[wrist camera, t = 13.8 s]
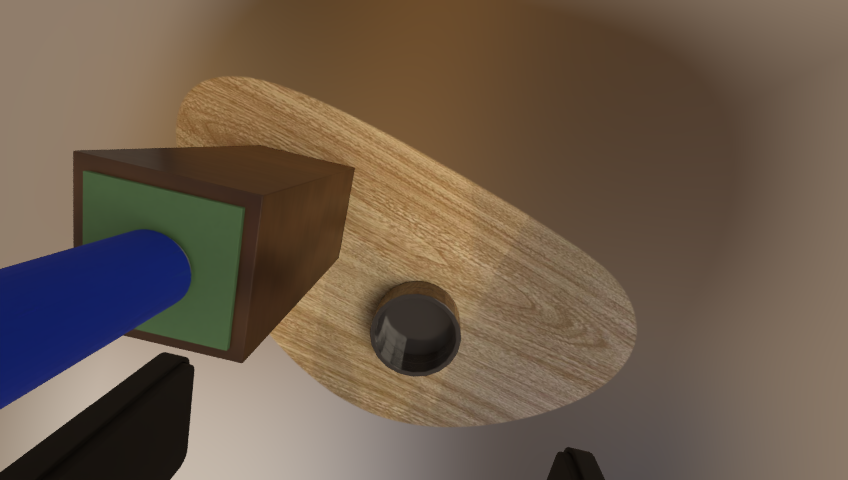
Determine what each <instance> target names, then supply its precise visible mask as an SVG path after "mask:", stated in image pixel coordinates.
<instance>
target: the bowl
mask: <svg viewBox="0 0 848 480" xmlns="http://www.w3.org/2000/svg"><path fill="white" fill-rule="evenodd" d="M370 337H371V344H372V347H373V349H374V351H375V353H376V355H377V357H378V358H379V359H380V360H381V361H382V362H383V363H384V364H385V365H386V366H387V367H389V368H390V369H392V370H394V371H396V372H397V373H400V374H404V375H408V376H427V375H430V374H433V373H436V372H439V371H440V370H442V369H443V368H445V367H446V366H447V365H449V364H450V363H451V361H452V360H453V358H454V357H455V356H456V354H457V352H458V349H459V346H460V342H461V333H460V319H459V312H458V309H457V306H456V304H455V302H454V301H453V299H452V298H451V297H450V296H449V295H448V293H447V292H445V291H444V290H443V289H441V288H440V287H438V286H436V285H434V284H431V283H427V282H422V281H412V282H406V283H403V284H400V285H398V286H396V287H394V288H393V289H391V290H390V291H389V292H388V293H387V294H386V295H385V296H384V297H383V299H382V300H381V302H380V304H379V305H378V308H377V310H376V313H375V315H374V318H373V320H372V325H371V329H370Z"/></svg>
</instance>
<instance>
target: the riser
mask: <svg viewBox="0 0 848 480" xmlns="http://www.w3.org/2000/svg"><path fill="white" fill-rule="evenodd" d="M73 160H74V161H73V166H74V167H73V184H74V185H73V187H74V188H73V196H74V197H73V198H74V199H73V207H74V210H73V211H74V212H73V213H74V214H73V218H74V219H73V220H74V221H73V222H74V248H75V247H78V246H82V245H83V171H88V170H89V171H93V172H97V173H101V174H106V175H110V176H114V177H118V178H122V179H127V180H131V181H135V182H139V183H144V184H148V185H152V186H156V187H160V188H165V189H169V190H173V191H177V192H182V193H186V194H190V195H194V196H198V197H203V198H207V199H211V200H215V201H220V202H224V203H228V204H232V205H236V206H241V207H245V215H244V224H243V233H242V242H241V251H240V260H239V268H238V277H237V286H236V295H235V304H234V313H233V321H232V330H231V339H230V348H229V349H228V350H227V351H225V350H221V349H217V348H213V347H208V346H204V345H200V344H196V343H191V342H187V341H183V340H179V339H174V338H170V337H166V336H162V335H157V334H153V333H149V332H145V331H140V330H136V329H133V330H131V331H129V332H128V333H126V334H124V336H128V337H133V338H137V339H141V340H146V341H149V342H154V343H158V344H163V345H166V346H171V347H175V348H179V349H183V350H188V351H193V352H197V353H200V354H205V355H209V356H213V357H217V358H222V359H226V360H230V361H234V362H239V363H243V362H244V361H245V360H246V359H247V358H248V356H250V354H251V353H252V352H253V351H254V350H255V349H256V348H257V347H258V346H259V345H260V343H261V342H262V341H263V340H264V339H265V338H266V337H267V336H268V335H269V334H270V333H271V331H272V330H273V329H274V328H275V327H276V326H277V325H278V324H279V323H280V322H281V320H282V319H283V318H284V317H285V316H286V315H287V314H288V313H289V312H290V311H291V310H292V308H293V307H294V306H295V305H296V304H297V303H298V302H299V301H300V300H301V299H302V298H303V296H304V295H305V294H306V293H307V292H308V291H309V290H310V289H311V288H312V287H313V285H314V284H315V283H316V282H317V281H318V280H319V279H320V278H321V277H322V276H323V275H324V273H325V272H326V271H327V270H328V269H329V268H330V267H331V266H332V265H333V264H334V262H335V261H336V260H337V259H338V258H339V253H340V247H341V242H342V236H343V231H344V225H345V220H346V214H347V209H348V203H349V198H350V192H351V187H352V181H353V176H354V170H355V168H353V167H349V166H345V165H341V164H337V163H332V162H328V161H324V160H320V159H316V158H311V157H307V156H303V155H299V154H294V153H290V152H286V151H282V150H278V149H273V148H269V147H265V146H261V145H258V146H222V147H187V148H152V149H120V150H119V149H117V150H80V151H74V152H73Z"/></svg>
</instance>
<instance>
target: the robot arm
mask: <svg viewBox="0 0 848 480" xmlns="http://www.w3.org/2000/svg"><path fill="white" fill-rule="evenodd" d="M193 379H194V366H193V365H190V364H189V359H188V358H187V357H183V356H179V355H174V354H170V353H166V352H164V353H161V354H159V355H158V356H156V357H155V358H154V359H152V360H151V361H150V362H148V363H147V364H145V365H144V366H143V367H142V368H140V369H139V370H137V371H136V372H135V373H133V374H132V375H131V376H129V377H128V378H127V379H126V380H124V381H123V382H121V383H120V384H119V385H117V386H116V387H115V388H113V389H112V390H111V391H109V392H108V393H107V394H105V395H104V396H103V397H101V398H100V399H99V400H97V401H96V402H95V403H93V404H92V405H90V406H89V407H87V408H86V409H85V410H84V411H82V412H81V413H79V414H78V415H77V416H75V417H74V418H73V419H71V420H70V421H69V422H67V423H66V424H65V425H63V426H62V427H61V428H59V429H58V430H56V431H55V432H54V433H52V434H51V435H50V436H48V437H47V438H46V439H44V440H43V441H42V442H40V443H39V444H38V445H36V446H35V447H34V448H33V449H31V450H30V451H28V452H27V453H26V454H24V455H23V456H22V457H20V458H19V459H18V460H16V461H15V462H14V463H12V464H11V465H10V466H8V467H7V468H5V469H4V470H3V471H2V472H0V480H170V479H171V478H172V477H173V475H174V474H175V473H176V472H177V471H178V469H179V468H180V467H181V465H182V463H183V462H184V459H185V457H186V453H187V448H188V436H189V425H190V414H191V402H192V391H193ZM547 480H605V479H604V477H603V475H602V472H601V470H600V468H599V466H598V464H597V462H596V460H595V457H594V456H593V454H592V453H590V452H587V451H582V450H579V449H574V448H570V447H567V448H566V449H565V450H564V452H558V453H557V455H556V457H555V460H554V462H553V465H552V468H551V470H550V473H549V475H548V478H547Z"/></svg>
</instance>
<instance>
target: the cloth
mask: <svg viewBox="0 0 848 480" xmlns="http://www.w3.org/2000/svg"><path fill="white" fill-rule="evenodd" d="M244 215H245V207H241V206H236V205H232V204H228V203H224V202H220V201H215V200H211V199H207V198H203V197H198V196H194V195H190V194H186V193H182V192H177V191H173V190H169V189H165V188H160V187H156V186H152V185H148V184H144V183H139V182H135V181H131V180H127V179H122V178H118V177H114V176H110V175H106V174H101V173H97V172H93V171H89V170H88V171H83V245H85V244H89V243H92V242H96V241H99V240H102V239H106V238H109V237H113V236H116V235H120V234H123V233H127V232H130V231H134V230H140V229H148V230H153V231H157V232H159V233H162V234H164V235H166V236H168V237H169V238H171V239H172V240H174V241H175V242H176V243H177V244H178V245H179V246H180V247H181V248H182V249H183V250H184V252H185V253H186V255H187V257H188V259H189V262H190V265H191V282H190V287H189V289H188V291H187V293H186V294H185V296H184V297H183V298H182V299H181V300H180V301H178V302H177V303H176V304H174V305H172V306H171V307H169V308H167V309H166V310H164V311H162V312H161V313H159V314H157V315H156V316H154V317H152V318H151V319H149V320H147V321H146V322H144V323H142V324H141V325H139V326H137V327H136V328H134V329H136V330H140V331H145V332H149V333H153V334H157V335H162V336H166V337H170V338H174V339H179V340H183V341H187V342H191V343H196V344H200V345H204V346H208V347H213V348H217V349H221V350H225V351H227V350H228V349H229V348H230V339H231V330H232V321H233V313H234V304H235V295H236V286H237V277H238V268H239V260H240V251H241V242H242V233H243V224H244Z"/></svg>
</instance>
